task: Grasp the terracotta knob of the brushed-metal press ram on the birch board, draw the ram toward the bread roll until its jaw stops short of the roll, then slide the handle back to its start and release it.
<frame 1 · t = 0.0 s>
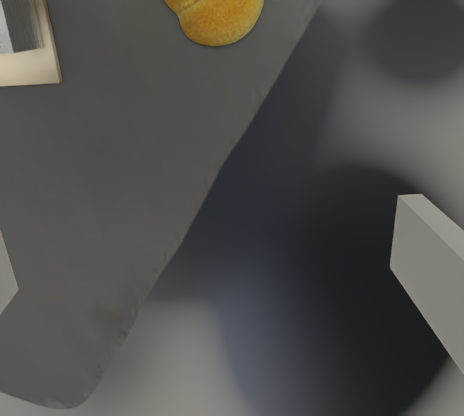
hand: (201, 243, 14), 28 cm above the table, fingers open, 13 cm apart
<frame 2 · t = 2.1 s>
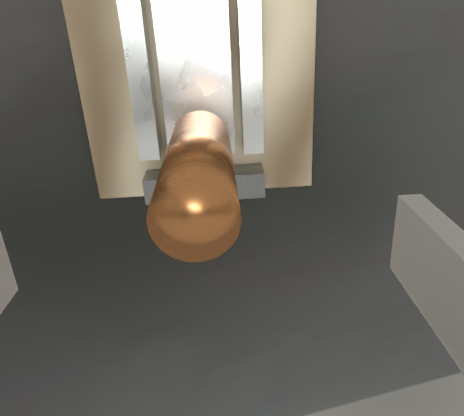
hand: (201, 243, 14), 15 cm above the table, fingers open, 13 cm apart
ram: (190, 73, 19), point 7 cm above the table, slide at 0.0 cm
rails: (196, 64, 26), resting on board
board: (197, 72, 26), on the table
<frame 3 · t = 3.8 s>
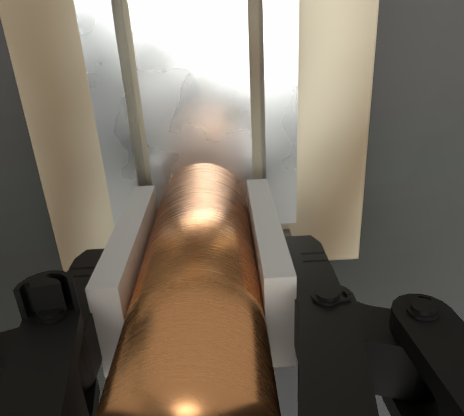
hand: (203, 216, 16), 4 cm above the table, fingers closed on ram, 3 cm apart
ram: (186, 124, 11), point 7 cm above the table, slide at 0.0 cm, touching gripper
rails: (198, 93, 18), resting on board
board: (199, 105, 18), on the table
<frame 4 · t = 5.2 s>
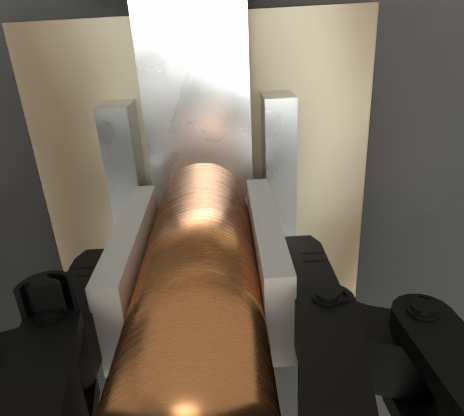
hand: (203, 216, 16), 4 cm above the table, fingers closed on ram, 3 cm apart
ram: (186, 124, 11), point 7 cm above the table, slide at 3.9 cm, touching gripper
rails: (205, 181, 20), resting on board
board: (206, 191, 20), on the table
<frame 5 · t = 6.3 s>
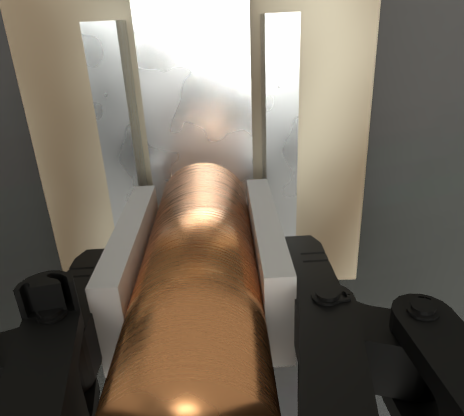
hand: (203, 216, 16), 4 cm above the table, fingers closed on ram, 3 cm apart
ram: (188, 123, 11), point 7 cm above the table, slide at 1.1 cm, touching gripper
rails: (201, 119, 18), resting on board
board: (202, 130, 19), on the table
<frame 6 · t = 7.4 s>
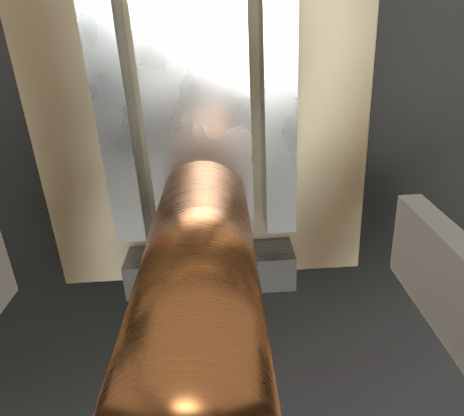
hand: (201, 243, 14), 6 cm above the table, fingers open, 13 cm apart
ram: (186, 120, 11), point 7 cm above the table, slide at 0.5 cm
rails: (199, 103, 18), resting on board
board: (200, 114, 18), on the table
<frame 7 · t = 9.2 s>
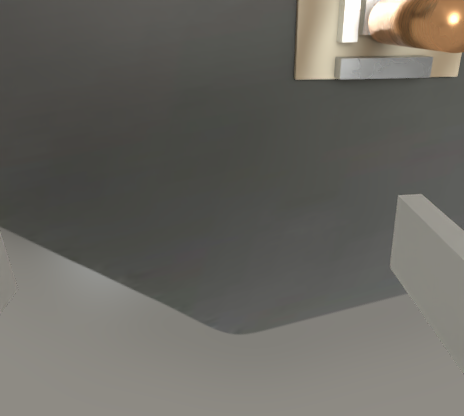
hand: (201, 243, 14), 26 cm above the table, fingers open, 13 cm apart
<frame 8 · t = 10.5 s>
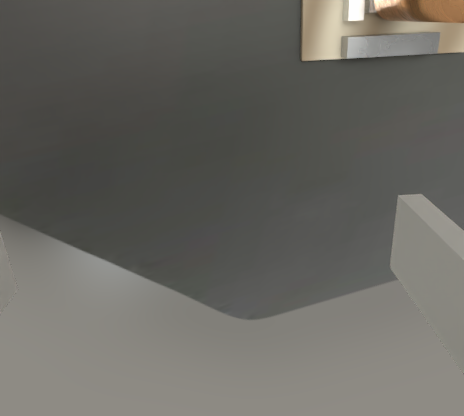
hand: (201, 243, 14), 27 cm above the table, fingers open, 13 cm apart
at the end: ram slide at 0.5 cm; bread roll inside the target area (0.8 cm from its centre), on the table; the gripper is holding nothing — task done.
